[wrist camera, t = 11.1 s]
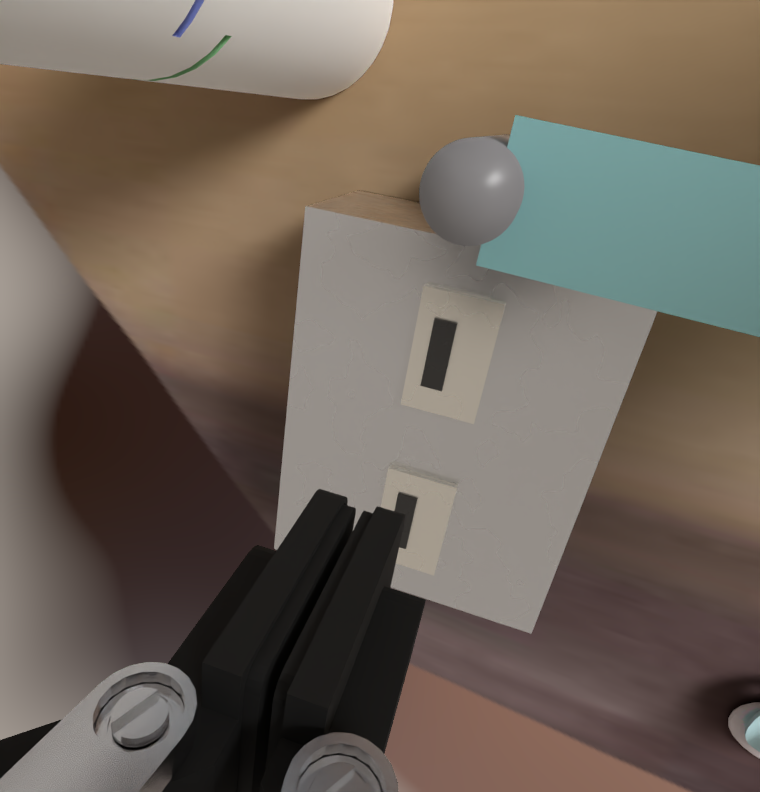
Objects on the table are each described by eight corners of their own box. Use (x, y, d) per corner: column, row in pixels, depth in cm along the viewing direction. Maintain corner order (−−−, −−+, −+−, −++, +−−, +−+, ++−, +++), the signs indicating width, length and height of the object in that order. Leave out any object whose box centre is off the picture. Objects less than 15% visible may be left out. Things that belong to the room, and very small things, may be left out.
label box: (355, 189, 25) (296, 206, 20) (643, 248, 23) (670, 286, 17) (318, 479, 32) (267, 553, 27) (536, 545, 30) (531, 640, 24)
